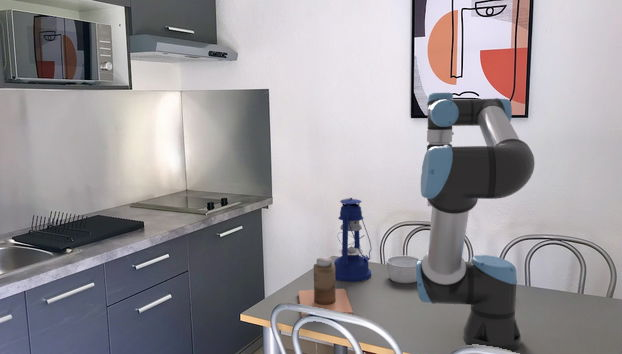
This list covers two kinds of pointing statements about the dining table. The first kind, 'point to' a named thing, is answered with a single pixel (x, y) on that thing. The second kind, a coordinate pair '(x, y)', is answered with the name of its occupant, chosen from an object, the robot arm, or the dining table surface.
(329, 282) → the pepper mill
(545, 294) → the dining table surface
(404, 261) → the ramekin
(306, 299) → the plate
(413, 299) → the dining table surface
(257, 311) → the dining table surface
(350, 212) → the lantern
